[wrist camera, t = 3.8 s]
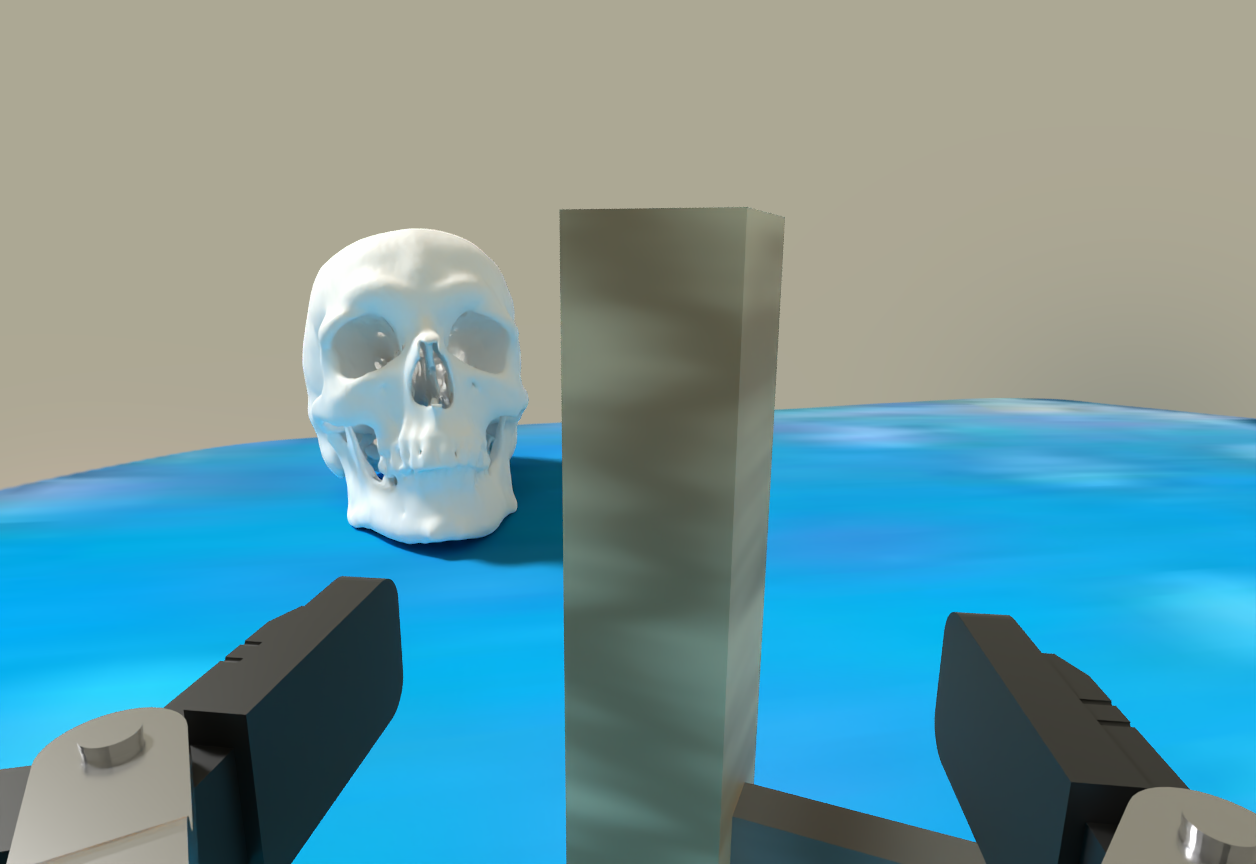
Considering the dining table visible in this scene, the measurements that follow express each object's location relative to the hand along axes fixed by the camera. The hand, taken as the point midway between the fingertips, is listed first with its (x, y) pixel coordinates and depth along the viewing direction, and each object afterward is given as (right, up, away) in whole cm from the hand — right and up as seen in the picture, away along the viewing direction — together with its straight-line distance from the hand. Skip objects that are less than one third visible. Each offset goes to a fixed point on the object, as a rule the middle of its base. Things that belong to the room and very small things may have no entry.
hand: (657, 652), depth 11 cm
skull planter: (-14, -1, +38) cm, 41 cm away
